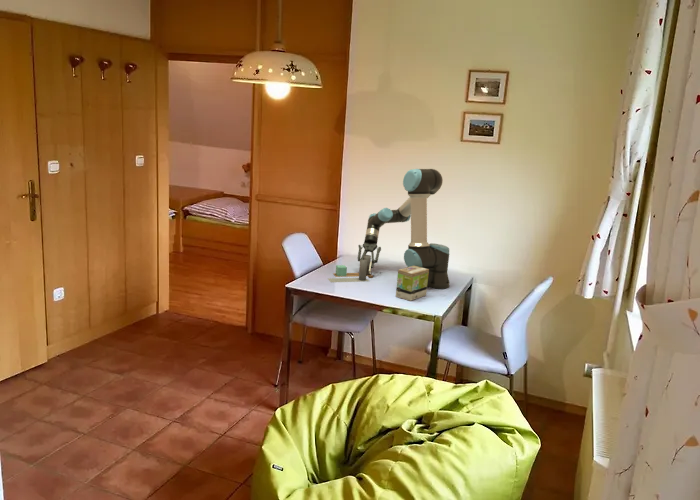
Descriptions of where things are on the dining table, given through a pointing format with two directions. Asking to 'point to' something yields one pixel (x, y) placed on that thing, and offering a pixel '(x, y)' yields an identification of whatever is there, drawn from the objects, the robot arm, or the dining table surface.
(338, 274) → the teal block
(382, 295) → the dining table surface
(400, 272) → the tea box
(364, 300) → the dining table surface
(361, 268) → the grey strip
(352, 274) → the tan and grey stand
